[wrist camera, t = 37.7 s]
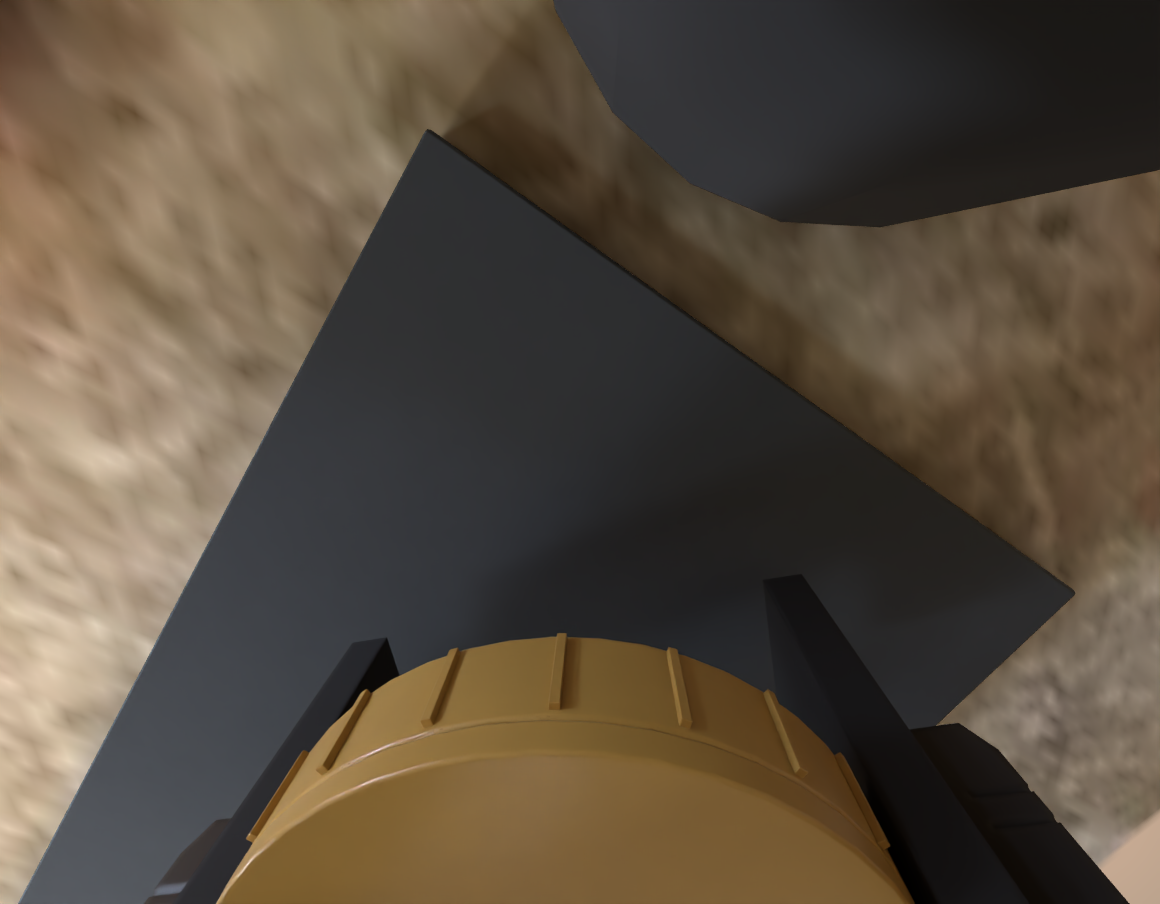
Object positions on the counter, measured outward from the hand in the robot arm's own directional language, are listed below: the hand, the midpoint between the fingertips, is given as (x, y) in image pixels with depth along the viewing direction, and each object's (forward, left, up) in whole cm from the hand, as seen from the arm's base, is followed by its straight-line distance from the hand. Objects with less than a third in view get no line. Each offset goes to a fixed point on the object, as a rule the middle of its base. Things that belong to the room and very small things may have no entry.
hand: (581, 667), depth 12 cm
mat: (-6, 0, -2) cm, 6 cm away
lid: (0, 0, +6) cm, 6 cm away
